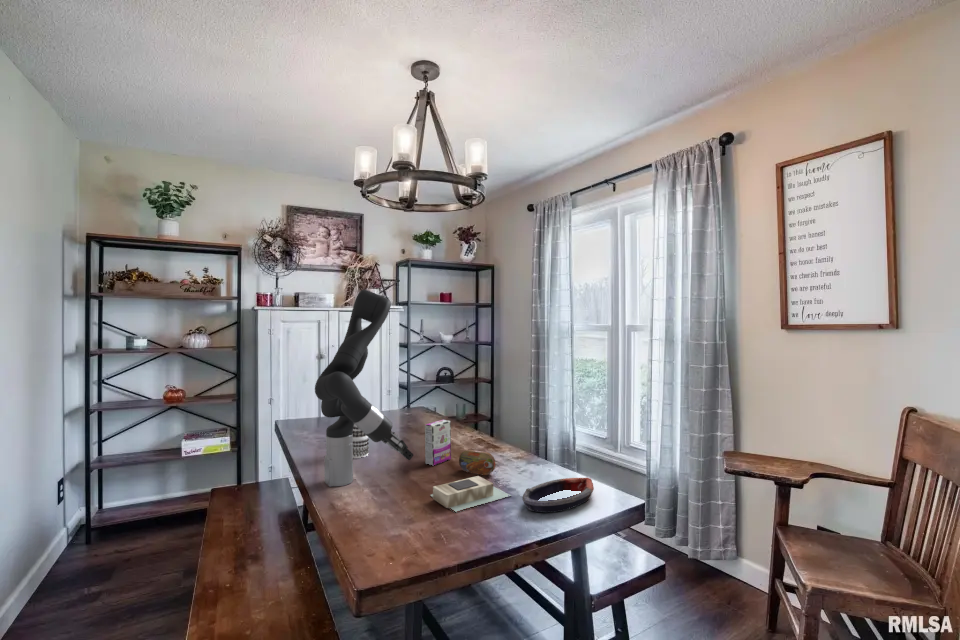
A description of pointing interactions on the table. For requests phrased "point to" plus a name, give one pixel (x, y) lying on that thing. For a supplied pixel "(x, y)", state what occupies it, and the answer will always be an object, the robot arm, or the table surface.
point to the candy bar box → (437, 442)
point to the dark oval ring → (555, 486)
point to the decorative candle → (359, 443)
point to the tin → (477, 462)
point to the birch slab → (462, 491)
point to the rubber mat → (481, 500)
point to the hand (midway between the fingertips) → (410, 457)
